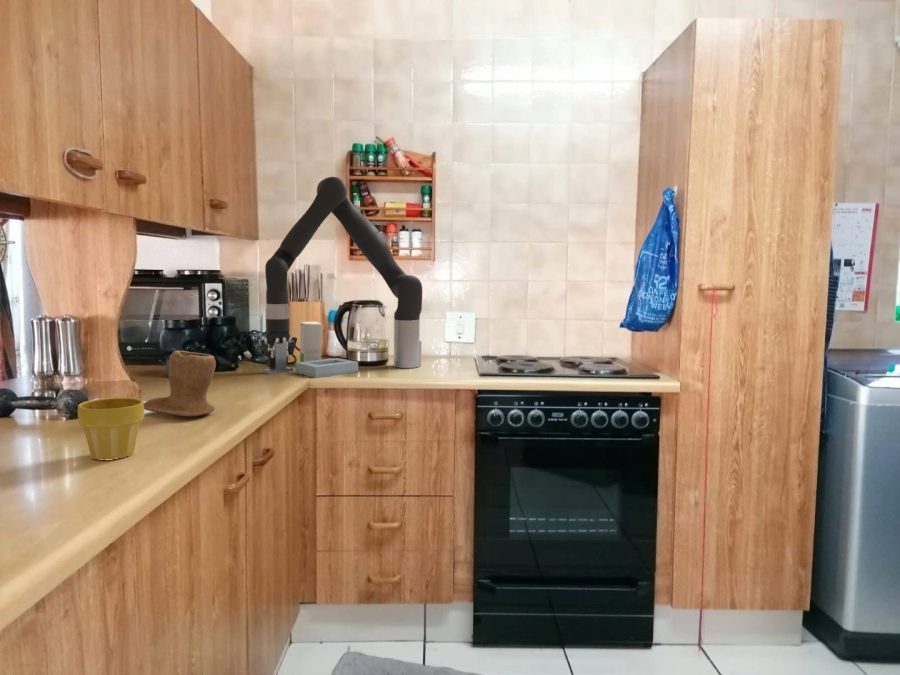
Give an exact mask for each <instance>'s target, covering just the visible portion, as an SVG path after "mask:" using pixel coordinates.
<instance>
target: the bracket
mask: <svg viewBox="0 0 900 675" xmlns="http://www.w3.org/2000/svg"><path fill="white" fill-rule="evenodd" d="M270 347H271V346H270ZM271 348H273V347H271ZM293 372H294V368H293V367H289V366H287V360H286V343H278V344H275V351H274V369H270V368H266V369H265V368H264V369H262V374H266V375H269V376H270V375H277V374H286V373H293Z"/></svg>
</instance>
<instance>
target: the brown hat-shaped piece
mask: <svg viewBox="0 0 900 675" xmlns="http://www.w3.org/2000/svg"><path fill="white" fill-rule="evenodd" d="M216 366H217V362H216V359H215V356H214V355H211V354H206V353H201V352H191V351H186V350H174V351H173V352H172V353H171V354H170V356H169V358H168V364H167V369H168V370H167V373H168V376H167V377H168V380H169V386H170V395H169V396H165V397H164V396H163V397H161V396H160V397H155V398H151V399H148V400H147V401H144V411H149V412H153V413H158V414H164V415H171V416H178V417H197V416H204V415H207V414H210V413H212V412H214V411H215V410H216V409H215V406H214V405H212V404H210V403H209V402H208V400H207V393H208V390H209V389H210V385H211V383H212V382H213V381H212V380H213V377H214V374H215V370H216Z"/></svg>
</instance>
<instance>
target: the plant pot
mask: <svg viewBox="0 0 900 675" xmlns="http://www.w3.org/2000/svg"><path fill="white" fill-rule="evenodd" d="M144 403H145V401H144V400H143V399H142V398H137V397H127V396H126V397H123V396H121V397H119V396H117V397H104V398H103V397H102V398H97V399H91V400H87V401H83V402H81V403H79V404H78V405H77V420H78V424H79V425H80V426H82V428H83V432H84V436H85V437H86V442H87V447H88V450H89V453H90V457H91V459H92V458H94V459H103V460H105V459H115V458H121V457H125V456H128V455H131V454H132V455H134V452H135V448H136V443H137V438H138V433H139V427H140V422H142V420H144V417H145V410H144ZM132 455H131V456H132ZM94 459H93V460H94Z"/></svg>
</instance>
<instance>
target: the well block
mask: <svg viewBox="0 0 900 675" xmlns="http://www.w3.org/2000/svg"><path fill="white" fill-rule="evenodd" d="M294 365H295V372H294V373H295V374H297V373H299V375H302V374H306V375H309V376H308V377H311V378H315V379H316V378H322V377H324V378H325V377H331V376H338V375H345V374H354V373H358V372H359V362H358V361H356V360H355V361H354V360H349V359H344V358H339V357H336V358H327V359H325V358H324V359H321V360H315V361H306V362H300V361H299V362H295V363H294ZM306 375H305V376H306Z"/></svg>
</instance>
